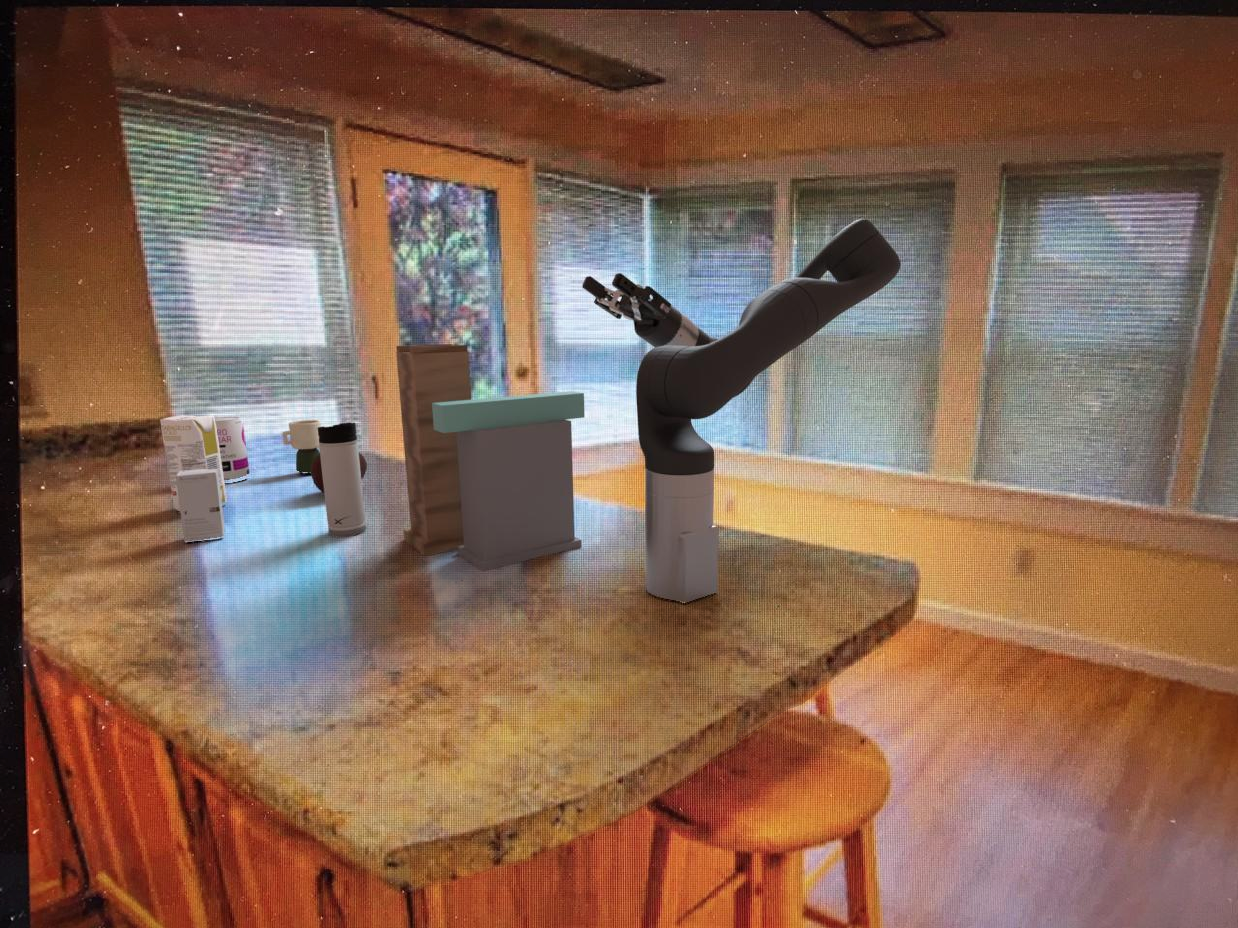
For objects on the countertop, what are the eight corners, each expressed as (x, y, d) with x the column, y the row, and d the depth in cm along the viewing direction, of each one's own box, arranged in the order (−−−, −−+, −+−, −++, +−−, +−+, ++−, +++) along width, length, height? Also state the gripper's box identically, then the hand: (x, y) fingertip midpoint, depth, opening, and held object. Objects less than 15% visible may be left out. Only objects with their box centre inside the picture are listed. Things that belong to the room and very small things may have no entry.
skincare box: (184, 544, 115) (173, 475, 112) (187, 537, 119) (176, 470, 116) (225, 539, 118) (215, 471, 115) (227, 532, 122) (217, 466, 119)
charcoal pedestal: (581, 546, 111) (578, 421, 106) (482, 570, 101) (474, 433, 96) (552, 532, 119) (547, 414, 114) (457, 553, 109) (449, 425, 104)
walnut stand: (488, 542, 114) (476, 345, 107) (424, 555, 108) (408, 347, 101) (464, 528, 122) (452, 343, 115) (404, 540, 116) (387, 346, 109)
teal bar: (584, 417, 110) (583, 393, 109) (443, 433, 97) (441, 405, 96) (572, 414, 113) (571, 391, 113) (433, 429, 100) (431, 403, 99)
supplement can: (246, 475, 167) (237, 415, 164) (253, 480, 161) (245, 418, 158) (208, 480, 162) (199, 418, 159) (214, 486, 156) (205, 422, 153)
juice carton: (206, 514, 133) (191, 419, 129) (168, 513, 134) (152, 419, 130) (233, 504, 140) (220, 414, 136) (196, 503, 141) (183, 413, 137)
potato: (379, 486, 153) (375, 442, 151) (348, 502, 141) (343, 453, 139) (334, 485, 155) (329, 441, 153) (299, 500, 142) (293, 452, 140)
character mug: (326, 467, 174) (320, 418, 172) (337, 471, 169) (332, 420, 167) (282, 474, 167) (275, 423, 164) (293, 479, 162) (286, 426, 159)
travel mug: (342, 539, 116) (330, 425, 112) (322, 533, 120) (309, 422, 116) (374, 530, 121) (363, 421, 117) (353, 524, 125) (342, 418, 121)
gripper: (685, 349, 111) (616, 299, 102) (634, 347, 123) (567, 301, 113) (702, 309, 112) (635, 255, 102) (650, 311, 124) (584, 262, 114)
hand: (599, 279), depth 108 cm, fingers open, 8 cm apart
